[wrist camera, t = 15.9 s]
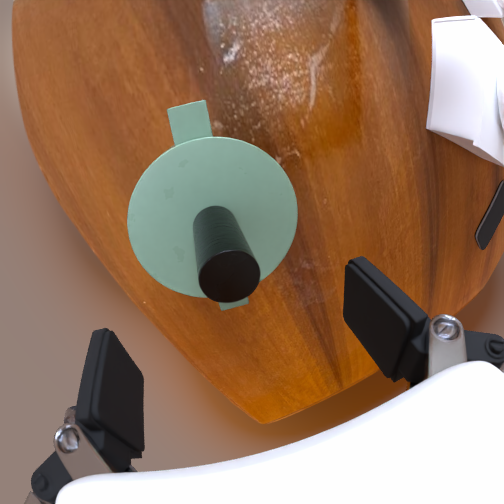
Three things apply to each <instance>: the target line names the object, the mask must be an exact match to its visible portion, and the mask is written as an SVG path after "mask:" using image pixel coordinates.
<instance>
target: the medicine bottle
mask: <svg viewBox="0 0 504 504" xmlns="http://www.w3.org/2000/svg"><path fill="white" fill-rule="evenodd" d="M462 1H463V2H464V4H465V6H466V7H467V9H468V11H469V13H470V14H471V16H477V17H496V18H502V17H503V16H504V0H462Z"/></svg>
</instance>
